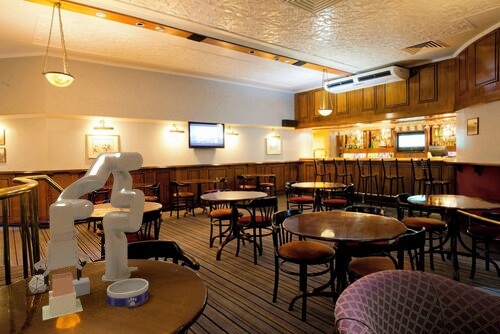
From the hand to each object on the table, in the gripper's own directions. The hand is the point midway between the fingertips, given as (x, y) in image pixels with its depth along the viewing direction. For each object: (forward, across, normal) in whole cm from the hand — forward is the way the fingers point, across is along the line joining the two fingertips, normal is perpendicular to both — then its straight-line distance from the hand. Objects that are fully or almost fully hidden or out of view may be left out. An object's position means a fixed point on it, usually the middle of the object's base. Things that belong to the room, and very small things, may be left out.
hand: (63, 282), depth 111 cm
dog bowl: (+11, -22, +4) cm, 25 cm away
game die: (+11, +8, -24) cm, 27 cm away
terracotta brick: (+3, 0, 0) cm, 3 cm away
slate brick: (+11, -6, -12) cm, 17 cm away
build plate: (+10, 0, 0) cm, 10 cm away
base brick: (+9, 0, 0) cm, 9 cm away
